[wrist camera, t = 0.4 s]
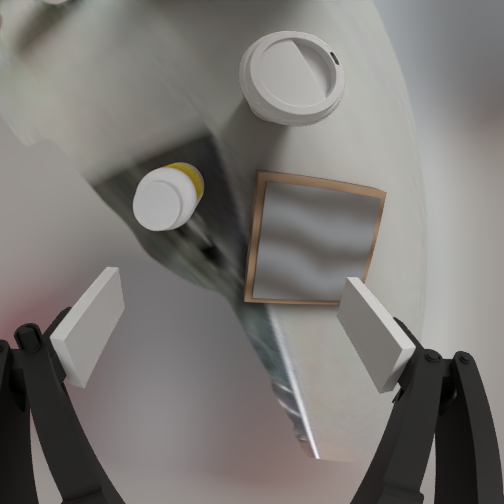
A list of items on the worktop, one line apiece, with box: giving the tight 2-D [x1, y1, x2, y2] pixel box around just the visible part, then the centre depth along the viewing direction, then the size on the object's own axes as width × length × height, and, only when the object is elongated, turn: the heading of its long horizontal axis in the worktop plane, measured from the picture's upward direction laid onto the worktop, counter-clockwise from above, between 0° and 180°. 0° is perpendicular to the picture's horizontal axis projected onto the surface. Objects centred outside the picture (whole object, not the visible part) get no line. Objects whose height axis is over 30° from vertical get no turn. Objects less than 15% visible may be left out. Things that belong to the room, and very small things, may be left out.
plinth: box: [243, 170, 386, 305], centre depth 38 cm, size 18×18×4 cm
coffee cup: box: [239, 31, 345, 126], centre depth 25 cm, size 10×10×15 cm
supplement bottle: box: [133, 162, 204, 231], centre depth 30 cm, size 7×7×13 cm
